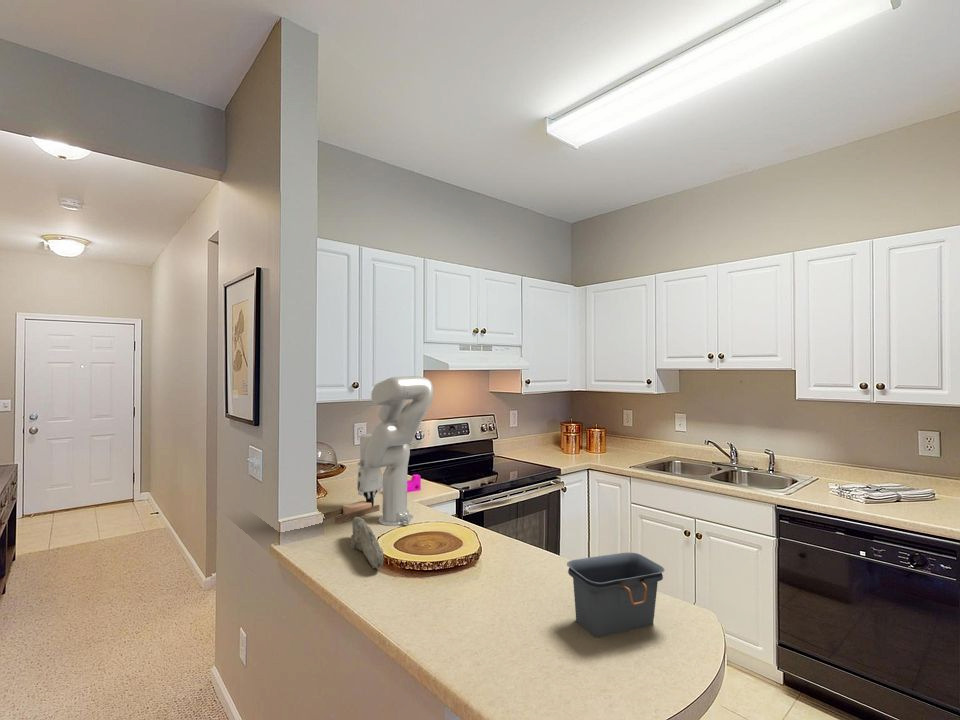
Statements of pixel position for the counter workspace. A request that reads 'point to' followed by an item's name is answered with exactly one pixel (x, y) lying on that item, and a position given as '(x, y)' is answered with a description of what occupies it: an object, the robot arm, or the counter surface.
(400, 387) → the robot arm
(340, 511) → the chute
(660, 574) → the storage bin
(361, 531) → the elongated rock
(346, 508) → the block
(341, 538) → the counter surface
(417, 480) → the toy block
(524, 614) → the counter surface
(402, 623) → the counter surface
